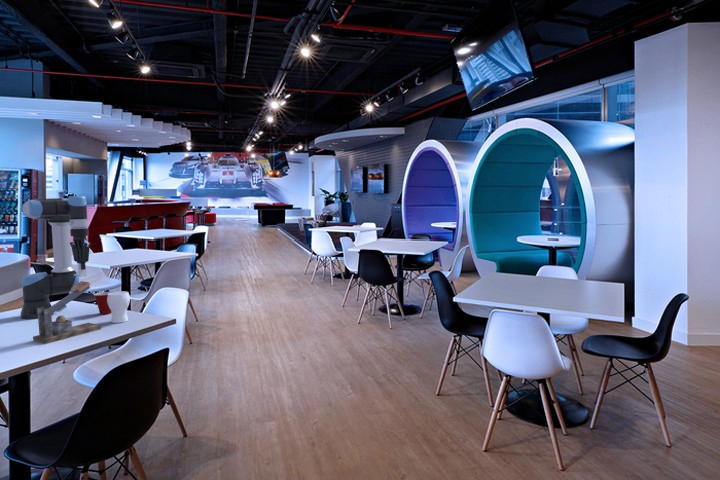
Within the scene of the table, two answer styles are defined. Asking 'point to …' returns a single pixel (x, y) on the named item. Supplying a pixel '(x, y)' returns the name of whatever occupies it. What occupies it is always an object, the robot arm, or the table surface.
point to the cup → (118, 305)
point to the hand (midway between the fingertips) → (82, 276)
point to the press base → (70, 334)
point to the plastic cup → (103, 303)
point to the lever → (70, 296)
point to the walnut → (60, 319)
